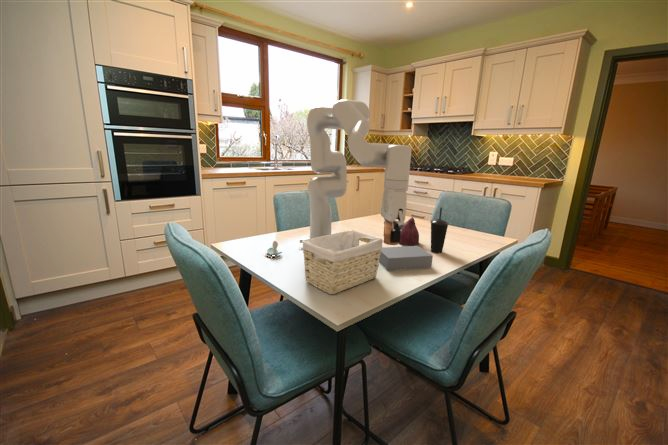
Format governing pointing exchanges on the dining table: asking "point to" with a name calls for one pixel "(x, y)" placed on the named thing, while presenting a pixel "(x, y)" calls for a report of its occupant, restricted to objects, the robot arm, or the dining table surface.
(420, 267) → the stand
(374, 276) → the storage basket
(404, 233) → the vegetable
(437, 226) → the drinking cup
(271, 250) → the pacifier
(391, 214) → the robot arm
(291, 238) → the dining table surface
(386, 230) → the cylinder
